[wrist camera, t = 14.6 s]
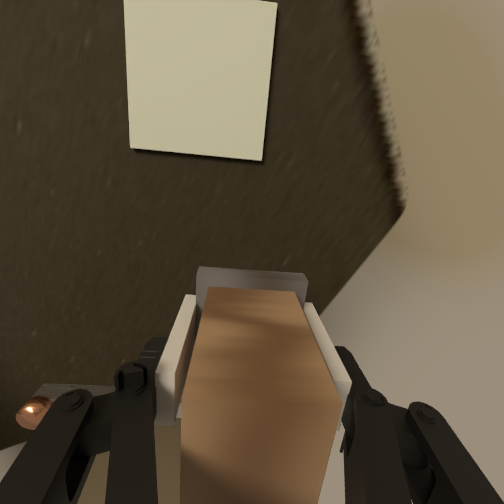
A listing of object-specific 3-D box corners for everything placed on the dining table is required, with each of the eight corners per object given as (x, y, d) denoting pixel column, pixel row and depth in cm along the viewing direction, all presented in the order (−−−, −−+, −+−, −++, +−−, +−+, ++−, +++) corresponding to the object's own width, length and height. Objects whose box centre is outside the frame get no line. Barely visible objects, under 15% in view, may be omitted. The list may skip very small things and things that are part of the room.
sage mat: (132, 147, 29) (130, 147, 29) (125, -15, 25) (122, -19, 25) (261, 160, 30) (261, 160, 30) (276, 6, 26) (277, 3, 26)
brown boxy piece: (196, 354, 18) (160, 519, 10) (199, 266, 17) (157, 379, 8) (289, 358, 19) (331, 520, 10) (303, 273, 17) (368, 387, 8)
